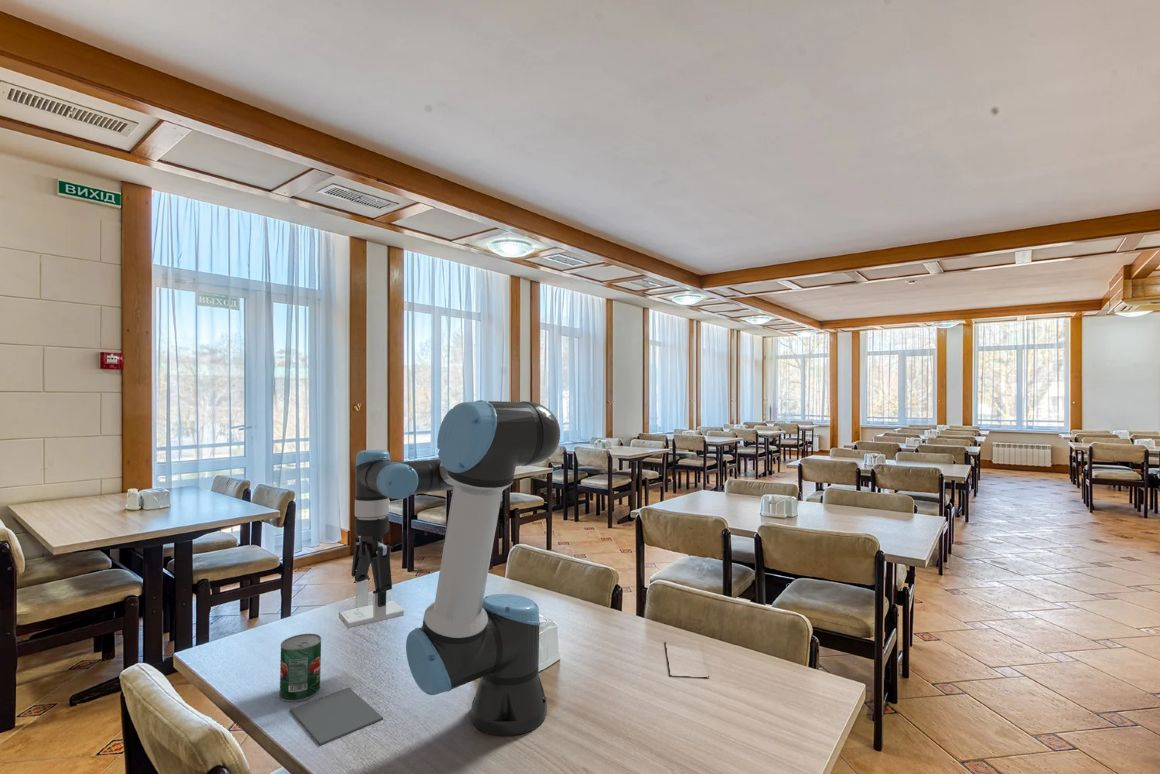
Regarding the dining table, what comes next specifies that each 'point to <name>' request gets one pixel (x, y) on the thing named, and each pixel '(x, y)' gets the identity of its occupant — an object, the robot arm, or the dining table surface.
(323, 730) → the mat
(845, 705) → the dining table surface
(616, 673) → the dining table surface
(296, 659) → the canned tomato
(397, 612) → the external hard drive
